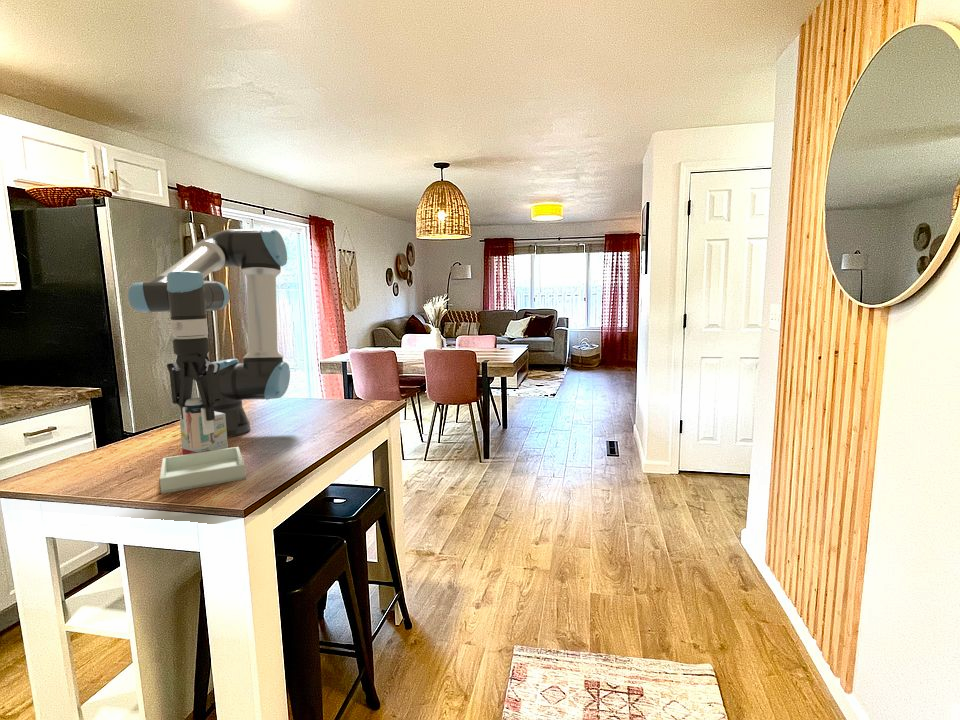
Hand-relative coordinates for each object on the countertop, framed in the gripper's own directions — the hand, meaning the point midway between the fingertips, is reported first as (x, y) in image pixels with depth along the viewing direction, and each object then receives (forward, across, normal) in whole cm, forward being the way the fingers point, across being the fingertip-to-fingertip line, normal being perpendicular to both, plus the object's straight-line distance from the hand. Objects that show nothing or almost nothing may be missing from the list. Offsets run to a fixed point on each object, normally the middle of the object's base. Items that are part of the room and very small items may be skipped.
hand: (199, 432), depth 127 cm
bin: (+11, 0, 0) cm, 11 cm away
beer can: (+4, 0, 0) cm, 4 cm away
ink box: (+11, -12, +14) cm, 21 cm away
